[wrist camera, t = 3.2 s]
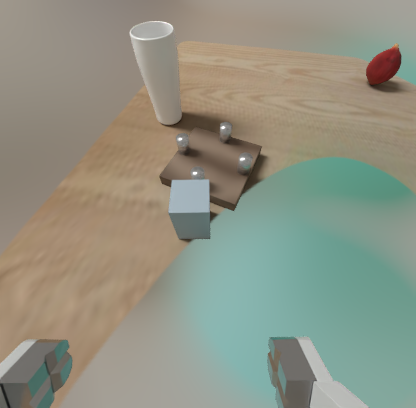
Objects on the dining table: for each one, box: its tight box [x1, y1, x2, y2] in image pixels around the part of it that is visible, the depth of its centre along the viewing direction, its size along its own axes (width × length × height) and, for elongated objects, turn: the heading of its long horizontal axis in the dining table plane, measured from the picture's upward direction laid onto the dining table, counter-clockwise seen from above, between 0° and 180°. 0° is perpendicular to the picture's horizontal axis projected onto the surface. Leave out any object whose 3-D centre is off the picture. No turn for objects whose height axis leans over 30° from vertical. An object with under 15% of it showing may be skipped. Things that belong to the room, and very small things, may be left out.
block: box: [168, 179, 210, 239], centre depth 26 cm, size 4×4×8 cm
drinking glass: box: [130, 21, 182, 125], centre depth 36 cm, size 7×7×15 cm
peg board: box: [160, 122, 262, 211], centre depth 33 cm, size 13×13×5 cm
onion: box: [366, 43, 401, 85], centre depth 44 cm, size 6×6×8 cm
